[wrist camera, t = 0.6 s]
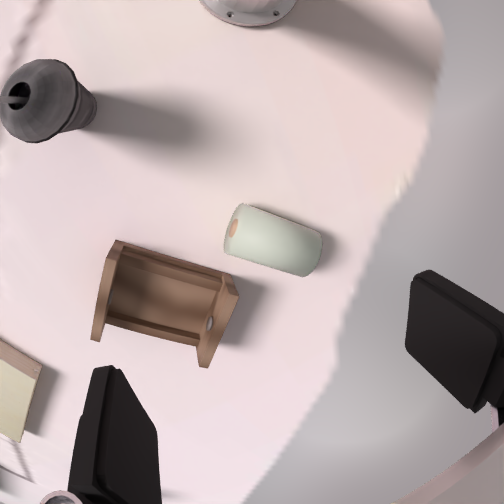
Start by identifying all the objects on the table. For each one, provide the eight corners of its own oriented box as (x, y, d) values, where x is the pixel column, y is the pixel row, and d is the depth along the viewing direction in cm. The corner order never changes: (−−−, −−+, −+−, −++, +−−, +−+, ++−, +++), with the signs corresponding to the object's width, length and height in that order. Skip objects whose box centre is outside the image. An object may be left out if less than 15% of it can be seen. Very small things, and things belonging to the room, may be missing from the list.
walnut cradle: (115, 239, 35) (105, 257, 30) (230, 274, 40) (239, 296, 35) (99, 313, 38) (90, 339, 33) (202, 341, 43) (207, 368, 38)
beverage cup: (114, 127, 31) (45, 117, 12) (59, 149, 30) (-42, 170, 12) (101, 71, 28) (30, 11, 10) (47, 94, 27) (-56, 71, 9)
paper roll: (219, 243, 39) (227, 261, 33) (237, 198, 37) (248, 209, 32) (291, 266, 42) (307, 285, 37) (309, 225, 41) (329, 239, 35)
